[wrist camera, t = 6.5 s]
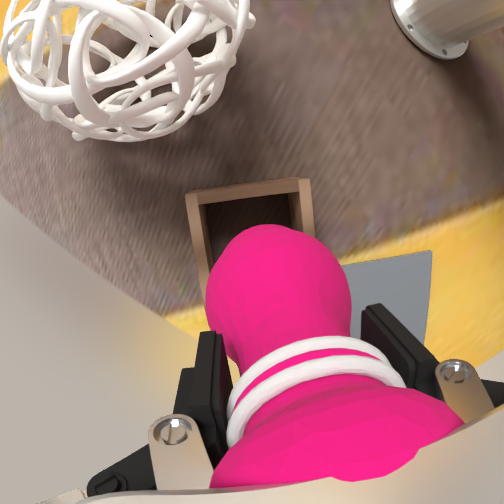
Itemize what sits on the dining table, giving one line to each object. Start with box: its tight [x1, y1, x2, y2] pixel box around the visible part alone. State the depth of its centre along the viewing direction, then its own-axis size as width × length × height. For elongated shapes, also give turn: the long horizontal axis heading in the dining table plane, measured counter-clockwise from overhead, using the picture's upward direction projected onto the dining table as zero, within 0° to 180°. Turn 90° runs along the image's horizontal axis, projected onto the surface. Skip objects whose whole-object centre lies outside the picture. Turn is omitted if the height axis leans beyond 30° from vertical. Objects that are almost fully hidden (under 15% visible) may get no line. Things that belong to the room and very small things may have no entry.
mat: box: [341, 250, 432, 345], centre depth 36 cm, size 14×14×1 cm
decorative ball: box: [0, 0, 256, 142], centre depth 18 cm, size 20×20×19 cm
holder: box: [185, 177, 315, 307], centre depth 30 cm, size 11×11×6 cm
